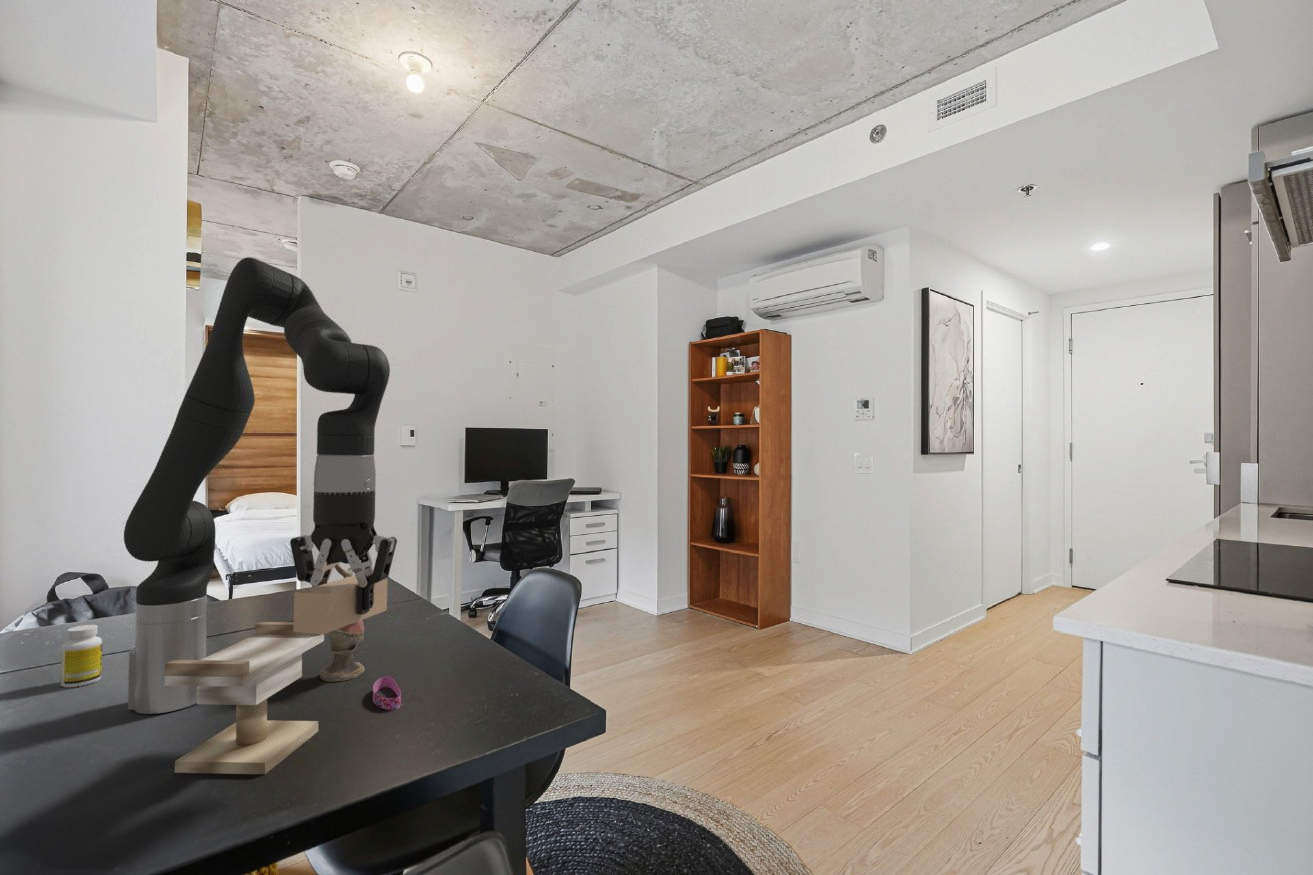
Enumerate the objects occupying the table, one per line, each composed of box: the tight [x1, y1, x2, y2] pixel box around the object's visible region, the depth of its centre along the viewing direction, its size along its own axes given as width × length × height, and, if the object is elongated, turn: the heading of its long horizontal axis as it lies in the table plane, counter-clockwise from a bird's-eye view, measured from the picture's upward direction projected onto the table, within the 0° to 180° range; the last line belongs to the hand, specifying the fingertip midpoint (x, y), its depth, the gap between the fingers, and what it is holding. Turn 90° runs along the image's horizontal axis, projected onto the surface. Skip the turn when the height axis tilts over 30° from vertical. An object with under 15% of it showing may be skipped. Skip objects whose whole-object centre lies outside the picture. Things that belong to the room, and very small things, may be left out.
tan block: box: [293, 575, 389, 635], centre depth 84 cm, size 4×12×5 cm, turn 166°
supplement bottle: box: [60, 624, 103, 688], centre depth 110 cm, size 5×5×10 cm
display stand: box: [165, 621, 325, 775], centre depth 86 cm, size 12×18×15 cm, turn 179°
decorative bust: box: [319, 562, 389, 682], centre depth 115 cm, size 11×13×25 cm
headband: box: [372, 675, 402, 711], centre depth 104 cm, size 11×4×2 cm, turn 34°
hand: (342, 612), depth 84 cm, fingers closed on tan block, 5 cm apart
